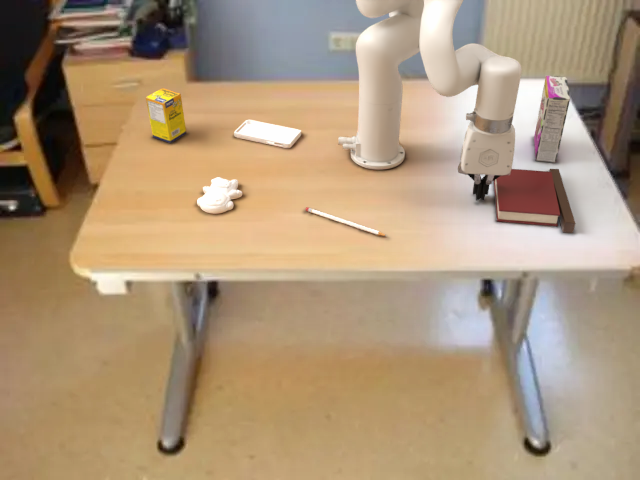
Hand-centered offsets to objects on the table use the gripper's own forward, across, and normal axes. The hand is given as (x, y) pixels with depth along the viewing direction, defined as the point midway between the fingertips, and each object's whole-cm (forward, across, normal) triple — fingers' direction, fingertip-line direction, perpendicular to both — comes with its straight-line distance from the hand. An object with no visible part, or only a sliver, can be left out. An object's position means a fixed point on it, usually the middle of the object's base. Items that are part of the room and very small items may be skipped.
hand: (479, 196), depth 151 cm
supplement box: (+2, -73, +22) cm, 76 cm away
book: (+1, +9, 0) cm, 9 cm away
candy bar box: (+1, +17, +22) cm, 28 cm away
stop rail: (+1, +17, 0) cm, 17 cm away
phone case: (+1, -49, +23) cm, 54 cm away
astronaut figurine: (+1, -55, -4) cm, 55 cm away
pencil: (+1, -28, -11) cm, 30 cm away
